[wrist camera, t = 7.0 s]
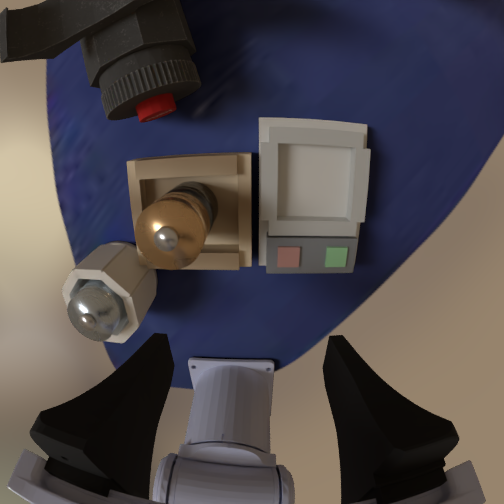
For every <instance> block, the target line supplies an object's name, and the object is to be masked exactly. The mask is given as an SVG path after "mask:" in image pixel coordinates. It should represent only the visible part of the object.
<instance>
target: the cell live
mask: <svg viewBox="0 0 504 504" xmlns="http://www.w3.org/2000/svg"><path fill="white" fill-rule="evenodd" d="M217 214H218V202H217V199H216V197H215V195H214V193H213V192H212V191H211V189H209V188H208V187H207V186H206V185H204V184H202V183H199V182H195V181H187V182H183V183H181V184H179V185H177V186H176V187H174V188H173V189H171V190H170V191H169V192H167V193H166V194H165V195H163V196H162V197H160V198H159V199H158V200H156V201H155V202H154V203H152V204H151V205H150V206H148V207H147V208H146V209H144V210H143V212H142V213H141V214H140V215H139V217H138V219H137V222H136V225H135V240H136V243H137V246H138V248H139V250H140V252H141V253H142V255H143V256H144V257H145V258H146V259H147V260H148V261H149V262H150V263H152V264H153V265H155V266H157V267H160V268H163V269H167V270H177V269H182V268H185V267H187V266H189V265H190V264H192V263H193V262H194V261H195V260H196V259H197V257H198V256H199V254H200V252H201V250H202V248H203V245H204V243H205V241H206V239H207V237H208V235H209V232H210V230H211V228H212V226H213V224H214V222H215V219H216V217H217Z"/></svg>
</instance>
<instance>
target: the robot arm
mask: <svg viewBox="0 0 504 504" xmlns="http://www.w3.org/2000/svg"><path fill="white" fill-rule="evenodd" d="M188 365H189V370H190V374H191V379H192V383H193V388H194V392H195V393H194V398H193V402H192V407H191V413H190V417H189V423H188V427H187V432H186V437H185V442H184V444H180V447H179V452H178V455H177V454H174V453H170V454H168V456H166V457H164V458H163V459H162V460H161V462H160V464H159V466H158V470H157V473H156V478H155V482H154V489H153V501H152V500H149V484H150V472H151V462H152V454H153V448H154V442H155V436H156V430H157V427H158V423H159V419H160V416H161V413H162V410H163V407H164V404H165V401H166V398H167V395H168V392H169V389H170V386H171V381H172V376H173V371H174V362H173V358H172V354H171V350H170V345H169V341H168V337H167V334H160V333H154V334H153V335H152V336H151V337H150V338H149V339H148V340H147V341H146V342H145V343H144V344H143V345H142V346H141V347H140V348H139V349H138V350H137V351H136V352H135V353H134V354H133V355H132V356H131V357H130V358H129V359H128V360H127V361H126V362H125V363H124V364H123V365H121V366H120V367H119V368H118V369H117V370H116V371H115V372H114V373H112V374H111V375H110V376H109V377H107V378H106V379H105V380H103V381H102V382H101V383H99V384H98V385H97V386H95V387H93V388H91V389H90V390H88V391H86V392H85V393H83V394H81V395H80V396H78V397H76V398H74V399H72V400H70V401H68V402H66V403H63V404H61V405H58V406H56V407H53V408H50V409H47V410H44V411H41V412H40V414H39V415H38V417H37V419H36V421H35V423H34V425H33V426H32V428H31V430H30V436H31V438H32V439H33V440H34V442H35V443H36V444H37V445H38V446H39V447H40V448H41V449H42V450H43V451H44V452H45V453H46V454H47V455H48V456H49V458H48V460H47V461H46V460H45V459H43V458H42V457H40V456H38V455H36V454H34V453H32V452H30V451H29V450H27V449H24V450H23V452H22V454H21V456H20V458H19V460H18V462H17V464H16V466H15V469H14V471H13V473H12V475H11V478H10V480H9V482H8V485H7V487H8V488H9V489H10V490H11V491H13V492H14V493H16V494H18V495H19V496H20V497H22V498H23V499H25V500H26V501H28V502H29V503H31V504H294V502H295V490H294V482H293V478H292V475H291V473H290V472H289V471H288V470H287V469H286V467H284V465H276V455H275V454H270V415H271V404H272V391H273V377H274V362H273V361H272V360H238V359H210V358H190V359H189V361H188ZM193 365H194V366H193ZM268 368H269V369H268ZM323 374H324V381H325V388H326V392H327V396H328V399H329V403H330V407H331V411H332V415H333V419H334V422H335V427H336V432H337V439H338V447H339V458H340V468H341V469H340V471H341V504H483V503H485V501H486V500H485V497H484V494H483V491H482V488H481V486H480V483H479V480H478V478H477V475H476V473H475V470H474V467H473V465H472V463H471V461H470V460H469V461H466V462H464V463H462V464H460V465H458V466H455V467H453V468H451V469H449V470H448V471H446V472H444V470H443V467H444V466H445V464H446V463H445V461H444V458H445V457H446V456H447V455H448V454H449V453H450V451H452V450H453V448H454V447H455V446H456V445H457V443H458V441H459V437H458V434H457V431H456V429H455V427H454V425H453V423H452V422H451V421H449V420H446V419H444V418H442V417H439V416H437V415H434V414H432V413H431V412H428V411H427V410H425V409H423V408H421V407H419V406H418V405H416V404H414V403H413V402H411V401H410V400H408V399H407V398H405V397H404V396H402V395H401V394H399V393H398V392H397V391H396V390H394V389H393V388H392V387H391V386H389V385H388V384H387V383H386V382H385V381H383V379H381V378H380V377H379V376H378V375H377V374H376V373H375V372H374V371H373V370H372V369H371V368H370V366H368V364H367V363H366V362H365V361H364V360H363V359H362V358H361V357H360V355H359V354H358V353H357V352H356V351H355V350H354V348H353V347H352V346H351V345H350V343H349V342H348V341H347V340H346V339H345V337H344V336H343V335H336V336H329V340H328V345H327V350H326V355H325V360H324V364H323Z"/></svg>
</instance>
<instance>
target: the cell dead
mask: <svg viewBox="0 0 504 504" xmlns="http://www.w3.org/2000/svg"><path fill="white" fill-rule="evenodd" d="M67 311H68V316H69V318H70V321H71V323H72V324H73V325H74V327H75V328H76V329H77V330H78V331H79V332H80V333H81V334H82V335H84V336H85V337H87V338H89V339H91V340H95V341H105V340H107V339H109V338H110V337H111V335H112V333H113V332H114V330H115V328H116V327H117V325H118V324H119V322H120V320H121V319H122V317H123V316H124V314H125V312H126V309H125V305H124V301H123V299H122V298H121V297H120V296H119V295H118V294H116V293H115V292H114V291H113V290H112V289H111V288H110V287H108V286H107V285H106V284H105V283H104V282H103V281H102V280H95V279H90V280H89V281H88V282H87V283H86V284H85V285H84V286H83V287H82V288H81V289H80V290H79V291H78V293H77V294H76V295H75V296H74V297H73V298H72V299H71V300H70V302H69V303H68V307H67Z"/></svg>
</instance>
